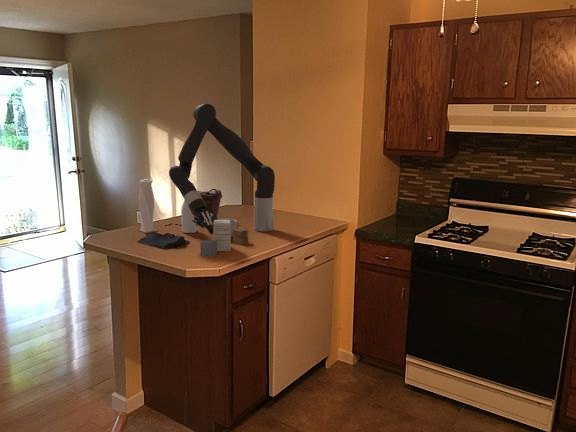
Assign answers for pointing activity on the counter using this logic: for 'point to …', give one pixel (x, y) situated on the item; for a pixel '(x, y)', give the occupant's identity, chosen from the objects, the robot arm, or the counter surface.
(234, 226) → the teacup
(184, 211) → the milk bottle
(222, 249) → the supplement box
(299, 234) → the counter surface
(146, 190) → the skyscraper
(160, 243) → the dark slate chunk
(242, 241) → the walnut block
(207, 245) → the slate-grey block
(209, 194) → the wooden bucket
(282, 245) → the counter surface
